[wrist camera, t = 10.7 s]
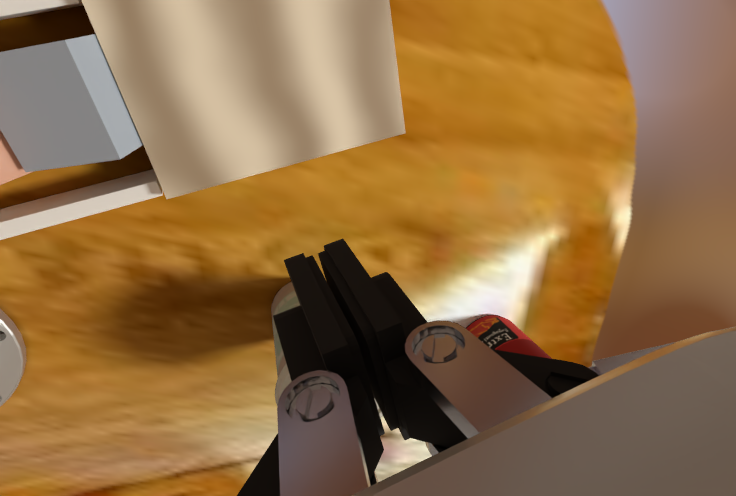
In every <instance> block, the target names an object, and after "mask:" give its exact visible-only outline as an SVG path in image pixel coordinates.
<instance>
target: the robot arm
mask: <svg viewBox="0 0 736 496" xmlns="http://www.w3.org/2000/svg"><path fill="white" fill-rule="evenodd" d="M324 250H325V251H323V252H320V253H318V255H319V258H320V262H321V265H322V268H323V271H324V274H325V278H326V280H325V278H324V276H323V274H322V272H321V270H320V268H319V266H318V265H317V263H316V261H315V259H314V257H313V255H312V256H309V257H307V258H305V256H304V254H303V253H302V254H299V255H297V256H294V257H291V258H288V259H286V260H284V262H285V265H286V268H287V270H288V273H289V276H290V279H291V281H292V284H293V287H294V290H295V292H296V295H297V298H298V301H299V303H300V305H299V306H297V307H294V308H292V309H289V310H286V311H284V312H281V313H279V314H276V315H273V318H274V322H275V326H276V329H277V333H278V336H279V340H280V343H281V346H282V350H283V353H284V357H285V360H286V364H287V367H288V371H289V374H290V378H291V381H292V382H290V384H289V385H288V386H287V387H286V388H285V389H284V390H283V392H282V394H281V396H280V398H279V401H278V408H277V413H278V434H277V435H276V437H275V438H274V440H273V441H272V443H271V445H270V446H269V448H268V449H267V451H266V452H265V454H264V455H263V457H262V458H261V460H260V461H259V463H258V464H257V466H256V467H255V469H254V470H253V472H252V473H251V475H250V477H249V478H248V480H247V481H246V483H245V484H244V486H243V487H242V489H241V490H240V492H239V493H238V495H237V496H736V327H732V328H727V329H722V330H717V331H713V332H708V333H704V334H700V335H697V336H694V337H691V338H688V339H685V340H682V341H678V342H675V343H670V344H666V345H661V346H657V347H652V348H648V349H644V350H639V351H635V352H631V353H626V354H622V355H618V356H613V357H609V358H605V359H600V360H596V361H593V362H592V367H589V368H587V367H585V366H583V365H580V364H577V363H573V362H568V361H562V360H556V359H550V358H544V357H538V356H532V355H525V354H519V353H513V352H507V351H501V350H495V349H491V348H489V347H488V346H487V345H486V344H484V343H483V342H482V341H481V340H479V339H478V338H477V337H476V336H474V335H473V334H472V333H471V332H469V331H468V330H467V329H466V328H464V327H462V326H461V325H459V324H457V323H454V322H450V321H433V322H427V321H426V320H425V319H424V317H423V316H422V315H421V314H420V312H419V311H418V310H417V308H416V307H415V306H414V305H413V303H412V302H411V301H410V300H409V298H408V297H407V296H406V295H405V293H404V292H403V291H402V289H401V288H400V287H399V286H398V284H397V283H396V282H395V281H394V279H393V278H392V277H391V276H390V274H389V273H387V272H385V273H382V274H380V275H377V276H374V277H372V278H371V277H370V276H369V275H368V273H367V272H366V270H365V269H364V268H363V266H362V265H361V263H360V262H359V260H358V259H357V258H356V256H355V255H354V253H353V252H352V251H351V249H350V248H349V246H348V245H347V243H346V242H345V241H344V239H341V240H338V241H335V242H332V243H330V244H327V245H324ZM326 281H327V282H326ZM25 365H26V347H25V344H24V341H23V338H22V335H21V333H20V332H19V330H18V329H17V327H16V325H15V324H14V322H13V321H12V320H11V319H10V318H9V317H8V316H7V315H6V314H5V313H4V312H3V311H2V310H1V309H0V406H2V405H3V404H4V403H5V402H6V401H7V400H8V399H9V398H10V397H11V395H12V394H13V392H14V391H15V390H16V388H17V387H18V384H19V382H20V380H21V378H22V376H23V373H24V369H25ZM375 400H376V402H377V404H378V406H379V408H380V410H381V412H382V414H383V416H384V418H385V420H386V422H387V424H388V426H389V428H390V430H391V431H392V430H394V429H396V428H399V430H400V432H401V434H402V436H403V438H404V440H407V439H409V438H413V439H417V440H421V441H424V442H425V443H426V446H427V448H428V450H429V452H430V453H431V455H432V457H430V458H428V459H426V460H424V461H421V462H419V463H417V464H415V465H413V466H411V467H409V468H407V469H405V470H403V471H401V472H399V473H397V474H395V475H393V476H391V477H389V478H387V479H385V480H382V481H380V482H378V479H377V476H376V473H375V469H376V467H377V464H378V462H379V460H380V457H381V455H382V453H383V451H384V448H383V445H382V442H381V439H380V436H381V435H383V434H384V429H383V426H382V422H381V419H380V415H379V412H378V409H377V405H376V402H375Z"/></svg>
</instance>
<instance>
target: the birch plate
mask: <svg viewBox="0 0 736 496" xmlns="http://www.w3.org/2000/svg"><path fill="white" fill-rule="evenodd" d="M82 3H83V5H84V7H85V10H86V12H87V14H88V17H89V19H90V21H91V24H92V26H93V28H94V31H95V33H96V35H97V38H98V40H99V42H100V45H101V47H102V49H103V52H104V54H105V56H106V59H107V61H108V63H109V66H110V68H111V70H112V73H113V75H114V77H115V80H116V82H117V84H118V87H119V89H120V91H121V94H122V96H123V98H124V101H125V103H126V105H127V108H128V110H129V112H130V115H131V117H132V119H133V122H134V124H135V126H136V129H137V131H138V133H139V136H140V138H141V140H142V143H143V145H144V147H145V150H146V152H147V154H148V157H149V159H150V161H151V164H152V166H153V168H154V171H155V173H156V175H157V178H158V180H159V182H160V185H161V187H162V189H163V192H164V194H165V196H166V199H169V198H173V197H177V196H180V195H184V194H188V193H191V192H195V191H198V190H202V189H206V188H209V187H213V186H216V185H220V184H224V183H227V182H231V181H234V180H238V179H242V178H245V177H249V176H253V175H256V174H260V173H263V172H267V171H271V170H274V169H278V168H281V167H285V166H289V165H292V164H296V163H299V162H303V161H307V160H310V159H314V158H317V157H321V156H325V155H328V154H332V153H336V152H339V151H343V150H346V149H350V148H354V147H357V146H361V145H364V144H368V143H372V142H375V141H379V140H382V139H386V138H390V137H393V136H397V135H401V134H404V133H405V126H404V118H403V109H402V101H401V93H400V85H399V77H398V69H397V60H396V52H395V44H394V36H393V28H392V19H391V11H390V3H389V0H82Z"/></svg>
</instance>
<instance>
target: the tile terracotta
mask: <svg viewBox="0 0 736 496" xmlns="http://www.w3.org/2000/svg"><path fill="white" fill-rule="evenodd" d="M32 172H34V171H32ZM29 173H31V172H25V171H24V169H23V167H22V165H21V164H20V162H19V160H18V159H17V157H16V155H15V154H14V152H13V150H12V149H11V147H10V145H9V143H8V142H7V140H6V138H5V137H4V135H3V133H2V132H1V130H0V185H1V184H4V183H6V182H9V181H11V180H14V179H16V178H19V177H21V176H24V175H26V174H29Z"/></svg>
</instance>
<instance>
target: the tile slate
mask: <svg viewBox="0 0 736 496" xmlns="http://www.w3.org/2000/svg"><path fill="white" fill-rule="evenodd" d="M0 130H1V132H2V133H3V135H4V137H5V138H6V140H7V142H8V143H9V145H10V147H11V149H12V150H13V152H14V154H15V155H16V157H17V159H18V160H19V162H20V164H21V165H22V167H23V169H24V171H25V172H32V171H39V170H47V169H54V168H61V167H69V166H76V165H83V164H91V163H98V162H105V161H113V160H120V159H122V158H123V157H125V156H127V155H128V154H130V153H131V152H133V151H134V150H136V149H137V148H139V147H141V146H142V145H143V143H142V140H141V138H140V136H139V133H138V131H137V129H136V126H135V124H134V122H133V119H132V117H131V115H130V112H129V110H128V108H127V105H126V103H125V101H124V98H123V96H122V94H121V91H120V89H119V87H118V84H117V82H116V80H115V77H114V75H113V73H112V70H111V68H110V66H109V63H108V61H107V59H106V56H105V54H104V52H103V49H102V47H101V45H100V42H99V40H98V38H97V35H96V34H92V35H87V36H82V37H76V38H71V39H66V40H61V41H55V42H50V43H45V44H39V45H34V46H29V47H23V48H18V49H13V50H8V51H2V52H0Z"/></svg>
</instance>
